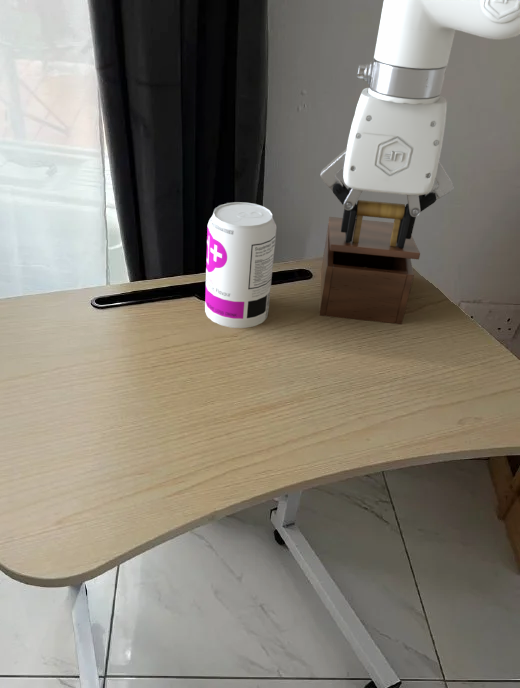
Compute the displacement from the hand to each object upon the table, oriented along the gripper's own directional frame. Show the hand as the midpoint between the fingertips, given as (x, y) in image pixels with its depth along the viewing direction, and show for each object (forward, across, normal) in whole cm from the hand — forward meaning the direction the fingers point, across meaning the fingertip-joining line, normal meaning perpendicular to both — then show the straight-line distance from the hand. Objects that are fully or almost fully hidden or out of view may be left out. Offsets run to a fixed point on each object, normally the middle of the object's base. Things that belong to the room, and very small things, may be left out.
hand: (374, 239), depth 81 cm
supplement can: (+12, -16, -3) cm, 20 cm away
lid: (+2, 0, +4) cm, 5 cm away
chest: (+12, 0, +5) cm, 13 cm away
